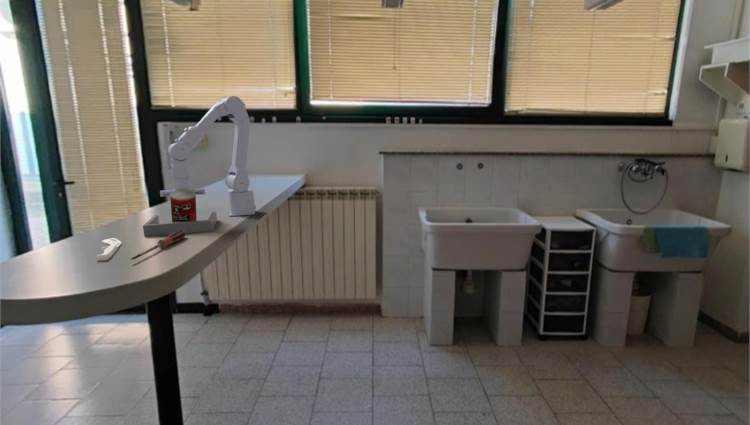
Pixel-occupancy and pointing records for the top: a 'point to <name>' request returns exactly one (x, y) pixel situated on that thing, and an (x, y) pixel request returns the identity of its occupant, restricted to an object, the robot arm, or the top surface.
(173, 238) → the screwdriver
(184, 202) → the canned food
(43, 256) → the top surface
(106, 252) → the white elongated piece
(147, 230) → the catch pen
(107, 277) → the top surface
